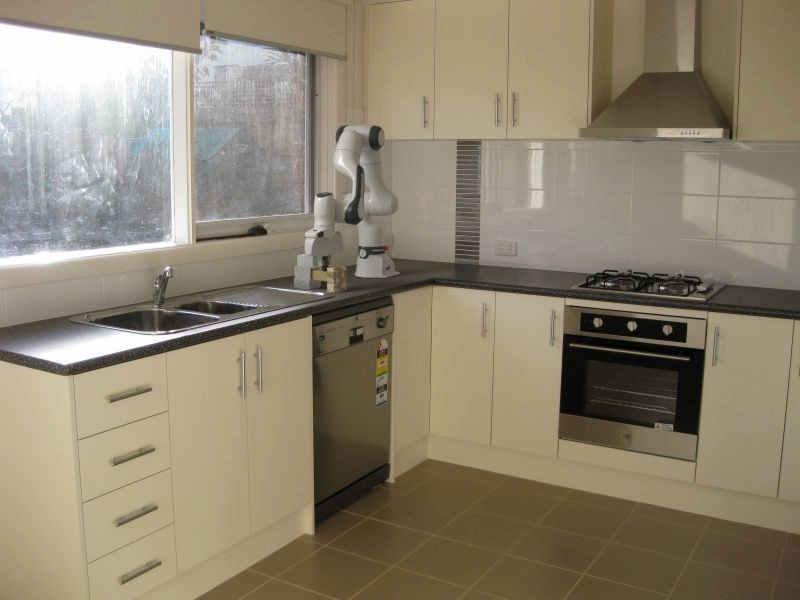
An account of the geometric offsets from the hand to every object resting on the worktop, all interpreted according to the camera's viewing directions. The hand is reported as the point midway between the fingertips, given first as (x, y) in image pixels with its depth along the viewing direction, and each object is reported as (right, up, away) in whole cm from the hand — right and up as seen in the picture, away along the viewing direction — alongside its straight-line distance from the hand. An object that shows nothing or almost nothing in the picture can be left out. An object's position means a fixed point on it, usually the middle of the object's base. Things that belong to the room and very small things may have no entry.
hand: (325, 265), depth 361 cm
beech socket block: (+5, -11, -2) cm, 12 cm away
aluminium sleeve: (-8, -9, +8) cm, 14 cm away
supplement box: (-9, -7, +20) cm, 23 cm away
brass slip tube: (-2, -6, +2) cm, 7 cm away
